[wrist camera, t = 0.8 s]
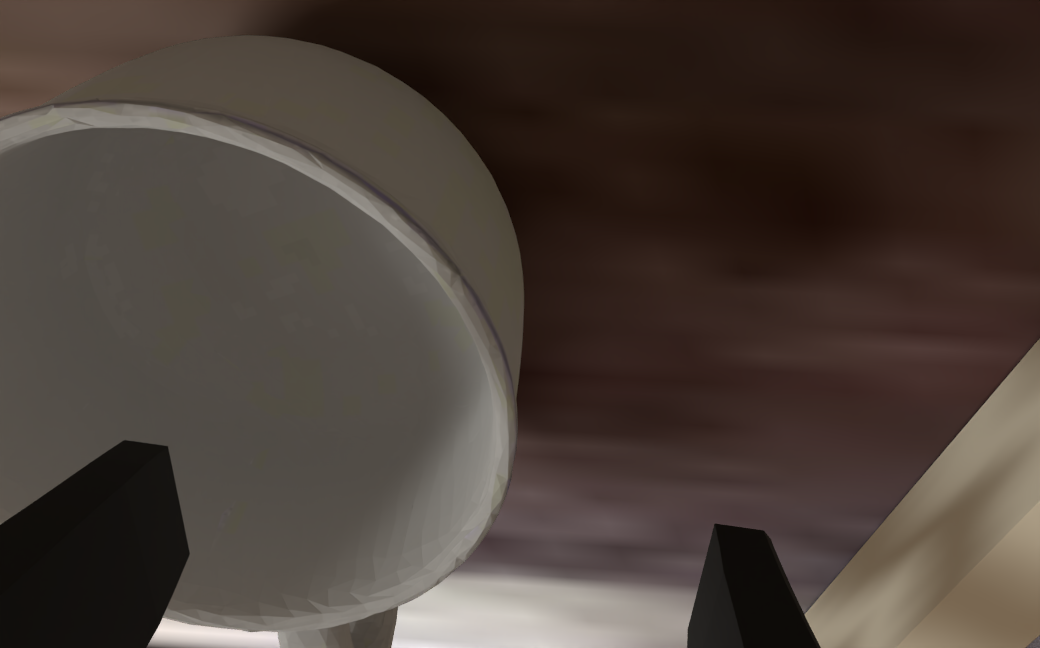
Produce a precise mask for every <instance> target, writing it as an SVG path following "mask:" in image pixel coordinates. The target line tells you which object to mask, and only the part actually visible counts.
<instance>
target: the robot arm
mask: <svg viewBox="0 0 1040 648" xmlns="http://www.w3.org/2000/svg"><path fill="white" fill-rule="evenodd" d="M189 555H190V551H189V547H188V542H187V537H186V532H185V527H184V522H183V517H182V512H181V507H180V503H179V498H178V493H177V488H176V483H175V478H174V473H173V468H172V463H171V458H170V454H169V449H168V446H164V445H157V444H150V443H143V442H136V441H129V440H124V441H122V442H120V443H119V444H117V445H116V446H114V447H113V448H111V449H110V450H108V451H107V452H105V453H104V454H102V455H101V456H99V457H98V458H96V459H95V460H93V461H92V462H90V463H89V464H88V465H86V466H85V467H83V468H82V469H80V470H79V471H77V472H76V473H75V474H73V475H72V476H70V477H69V478H67V479H66V480H65V481H63V482H62V483H60V484H59V485H57V486H56V487H55V488H53V489H52V490H50V491H49V492H47V493H46V494H44V495H43V496H42V497H40V498H39V499H37V500H36V501H34V502H33V503H31V504H30V505H28V506H27V507H26V508H24V509H23V510H21V511H20V512H18V513H17V514H15V515H14V516H12V517H11V518H9V519H8V520H6V521H5V522H3V523H2V524H0V648H146V647H147V645H148V643H149V642H150V640H151V638H152V636H153V635H154V633H155V631H156V629H157V628H158V626H159V624H160V622H161V620H162V617H163V615H164V613H165V611H166V609H167V606H168V604H169V602H170V600H171V598H172V596H173V593H174V591H175V589H176V586H177V584H178V581H179V579H180V577H181V574H182V572H183V569H184V567H185V565H186V562H187V560H188V558H189ZM687 648H821V647H820V645H819V643H818V641H817V639H816V637H815V635H814V633H813V631H812V629H811V627H810V625H809V623H808V621H807V619H806V617H805V615H804V613H803V611H802V609H801V607H800V605H799V603H798V601H797V599H796V596H795V594H794V592H793V590H792V588H791V586H790V583H789V581H788V579H787V577H786V574H785V572H784V570H783V568H782V565H781V563H780V561H779V558H778V556H777V554H776V551H775V549H774V546H773V544H772V541H771V539H770V538H769V536H768V535H767V534H766V533H765V532H764V531H763V530H756V529H749V528H742V527H735V526H728V525H720V524H715V525H714V529H713V533H712V536H711V540H710V544H709V548H708V552H707V556H706V560H705V564H704V568H703V572H702V576H701V580H700V584H699V587H698V591H697V595H696V599H695V603H694V607H693V611H692V615H691V619H690V623H689V627H688V641H687Z"/></svg>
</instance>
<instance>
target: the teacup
mask: <svg viewBox="0 0 1040 648" xmlns="http://www.w3.org/2000/svg"><path fill="white" fill-rule="evenodd" d="M523 319H524V284H523V271H522V264H521V256H520V251H519V246H518V242H517V237H516V233H515V230H514V227H513V224H512V221H511V218H510V215H509V212H508V209H507V207H506V204H505V202H504V200H503V198H502V196H501V194H500V192H499V190H498V188H497V185H496V183H495V181H494V179H493V177H492V175H491V173H490V172H489V170H488V169H487V167H486V166H485V164H484V163H483V161H482V160H481V158H480V157H479V155H478V154H477V152H476V151H475V150H474V148H473V147H472V146H471V145H470V143H469V142H468V141H467V139H466V138H465V137H464V136H463V134H462V133H461V132H460V131H459V130H458V129H457V128H456V127H455V126H454V124H453V123H452V122H451V121H450V120H449V119H448V118H447V117H446V116H445V115H444V114H443V113H442V112H441V111H440V110H438V109H437V108H436V107H435V106H434V105H433V104H431V103H430V102H429V101H428V100H427V99H426V98H424V97H423V96H422V95H421V94H419V93H418V92H416V91H415V90H413V89H412V88H411V87H409V86H408V85H406V84H405V83H403V82H402V81H400V80H398V79H397V78H395V77H393V76H392V75H390V74H388V73H387V72H385V71H383V70H382V69H380V68H378V67H377V66H374V65H372V64H370V63H367V62H365V61H362V60H360V59H358V58H355V57H353V56H351V55H348V54H346V53H343V52H341V51H338V50H335V49H332V48H329V47H326V46H323V45H318V44H314V43H309V42H304V41H299V40H294V39H290V38H282V37H272V36H257V35H238V36H227V37H215V38H205V39H200V40H195V41H190V42H185V43H181V44H177V45H173V46H170V47H166V48H163V49H160V50H158V51H155V52H152V53H150V54H147V55H144V56H142V57H139V58H136V59H134V60H131V61H129V62H126V63H124V64H121V65H119V66H117V67H115V68H112V69H110V70H108V71H106V72H104V73H102V74H100V75H98V76H96V77H94V78H92V79H90V80H88V81H86V82H84V83H82V84H79V85H77V86H75V87H73V88H71V89H69V90H68V91H66V92H64V93H62V94H60V95H59V96H57V97H55V98H53V99H52V100H50V101H48V102H46V103H44V104H43V105H41V106H38V107H34V108H30V109H26V110H23V111H19V112H16V113H13V114H9V115H6V116H4V117H2V118H0V524H2V523H3V522H5V521H6V520H8V519H9V518H11V517H12V516H14V515H15V514H17V513H18V512H20V511H21V510H23V509H24V508H26V507H27V506H28V505H30V504H31V503H33V502H34V501H36V500H37V499H39V498H40V497H42V496H43V495H44V494H46V493H47V492H49V491H50V490H52V489H53V488H55V487H56V486H57V485H59V484H60V483H62V482H63V481H65V480H66V479H67V478H69V477H70V476H72V475H73V474H75V473H76V472H77V471H79V470H80V469H82V468H83V467H85V466H86V465H88V464H89V463H90V462H92V461H93V460H95V459H96V458H98V457H99V456H101V455H102V454H104V453H105V452H107V451H108V450H110V449H111V448H113V447H114V446H116V445H117V444H119V443H120V442H122V441H124V440H129V441H136V442H143V443H150V444H157V445H164V446H168V449H169V454H170V458H171V463H172V468H173V473H174V478H175V483H176V488H177V493H178V498H179V503H180V507H181V512H182V517H183V522H184V527H185V532H186V537H187V542H188V547H189V551H190V555H189V558H188V560H187V562H186V565H185V567H184V569H183V572H182V574H181V577H180V579H179V581H178V584H177V586H176V589H175V591H174V593H173V596H172V598H171V600H170V602H169V604H168V606H167V609H166V611H165V613H164V615H163V617H162V618H166V619H170V620H174V621H178V622H182V623H187V624H192V625H200V626H209V627H217V628H227V629H237V630H243V631H248V632H258V631H272V632H278V639H279V643H280V648H391V645H392V640H393V635H394V630H395V625H396V619H397V610H398V606H400V605H402V604H404V603H407V602H409V601H411V600H413V599H415V598H417V597H419V596H421V595H422V594H424V593H425V592H427V591H428V590H430V589H431V588H433V587H435V586H436V585H438V584H439V583H440V582H442V581H443V580H444V579H445V578H446V577H447V576H449V575H450V574H451V573H452V572H453V571H454V570H456V569H457V568H458V567H459V566H460V565H461V564H462V563H464V562H465V561H466V560H467V558H468V557H469V556H470V555H471V554H472V553H473V552H474V550H475V549H476V548H477V547H478V545H479V544H480V543H481V541H482V540H483V538H484V537H485V536H486V534H487V533H488V531H489V529H490V528H491V526H492V524H493V523H494V521H495V519H496V517H497V516H498V513H499V511H500V509H501V506H502V504H503V502H504V499H505V497H506V495H507V491H508V488H509V485H510V482H511V477H512V468H513V462H514V458H515V454H516V448H517V432H518V422H517V403H516V396H517V390H518V381H519V372H520V363H521V352H522V340H523Z"/></svg>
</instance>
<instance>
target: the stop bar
mask: <svg viewBox="0 0 1040 648" xmlns="http://www.w3.org/2000/svg"><path fill="white" fill-rule="evenodd" d="M805 617H806V619H807V621H808V623H809V625H810V627H811V629H812V631H813V633H814V635H815V637H816V639H817V641H818V643H819V645H820V647H821V648H1025V647H1027V646H1028V645H1029V644H1030V643H1031V642H1032V641H1033V640H1034V639H1036V638H1037V637H1038V636H1039V635H1040V339H1039V340H1038V341H1037V342H1036V343H1035V345H1034V346H1033V347H1032V348H1031V349H1030V350H1029V352H1028V353H1027V354H1026V355H1025V356H1024V358H1023V359H1022V360H1021V361H1020V362H1019V363H1018V365H1017V366H1016V367H1015V368H1014V369H1013V370H1012V372H1011V373H1010V374H1009V375H1008V376H1007V378H1006V379H1005V380H1004V381H1003V382H1002V383H1001V385H1000V386H999V387H998V388H997V389H996V390H995V392H994V393H993V394H992V395H991V396H990V397H989V399H988V400H987V401H986V402H985V403H984V405H983V406H982V407H981V408H980V409H979V410H978V412H977V413H976V414H975V415H974V416H973V417H972V419H971V420H970V421H969V422H968V423H967V424H966V426H965V427H964V428H963V429H962V430H961V432H960V433H959V434H958V435H957V436H956V437H955V439H954V440H953V441H952V442H951V443H950V444H949V446H948V447H947V448H946V449H945V450H944V452H943V453H942V454H941V455H940V456H939V457H938V459H937V460H936V461H935V462H934V463H933V464H932V466H931V467H930V468H929V469H928V470H927V471H926V473H925V474H924V475H923V476H922V477H921V479H920V480H919V481H918V482H917V483H916V484H915V486H914V487H913V488H912V489H911V490H910V491H909V493H908V494H907V495H906V496H905V497H904V498H903V500H902V501H901V502H900V503H899V504H898V506H897V507H896V508H895V509H894V510H893V511H892V513H891V514H890V515H889V516H888V517H887V518H886V520H885V521H884V522H883V523H882V524H881V526H880V527H879V528H878V529H877V530H876V531H875V533H874V534H873V535H872V536H871V537H870V538H869V540H868V541H867V542H866V543H865V544H864V545H863V547H862V548H861V549H860V550H859V551H858V553H857V554H856V555H855V556H854V557H853V558H852V560H851V561H850V562H849V563H848V564H847V565H846V567H845V568H844V569H843V570H842V571H841V572H840V574H839V575H838V576H837V577H836V578H835V580H834V581H833V582H832V583H831V584H830V585H829V587H828V588H827V589H826V590H825V591H824V592H823V594H822V595H821V596H820V597H819V598H818V600H817V601H816V602H815V603H814V604H813V605H812V607H811V608H810V609H809V610H808V611H807V612H806V614H805Z"/></svg>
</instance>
